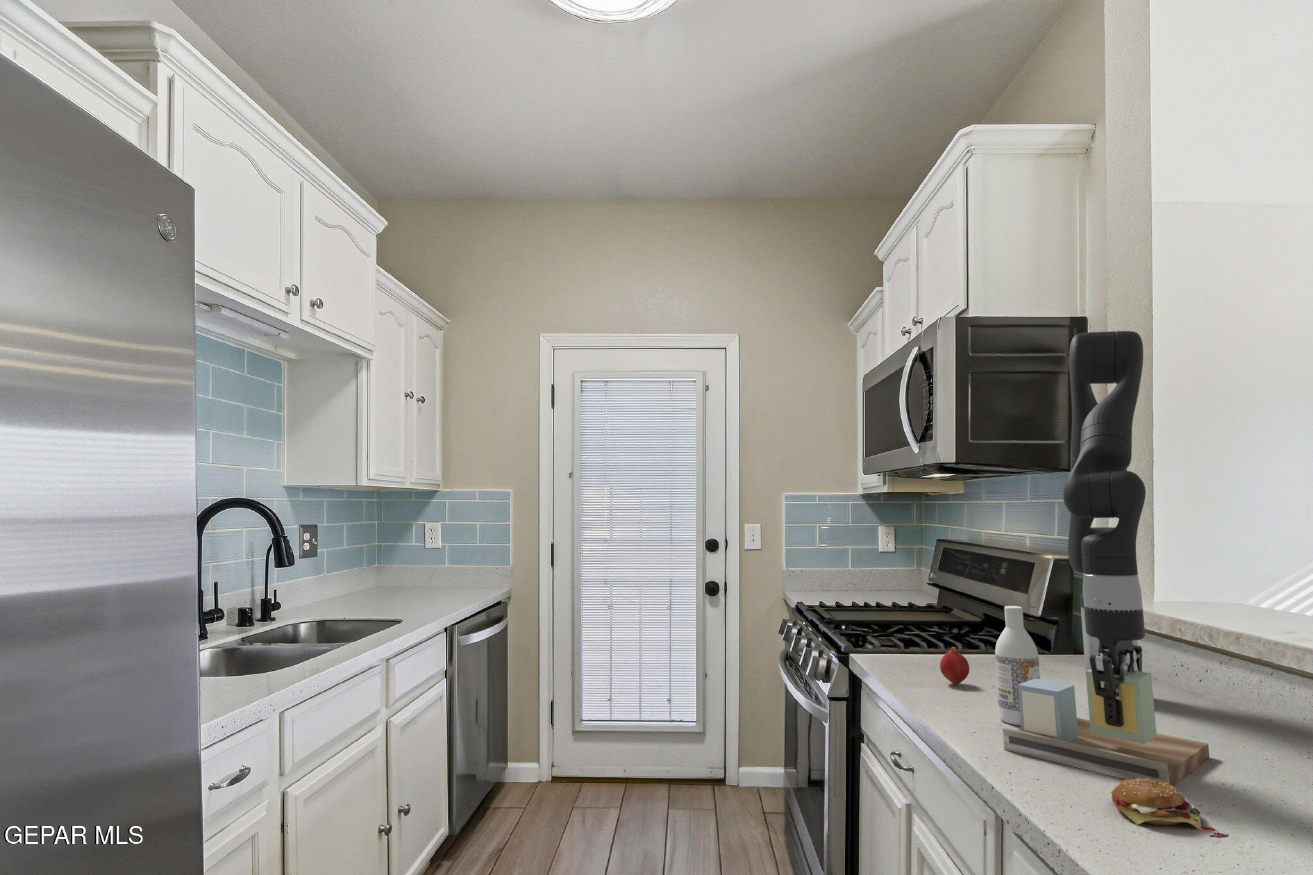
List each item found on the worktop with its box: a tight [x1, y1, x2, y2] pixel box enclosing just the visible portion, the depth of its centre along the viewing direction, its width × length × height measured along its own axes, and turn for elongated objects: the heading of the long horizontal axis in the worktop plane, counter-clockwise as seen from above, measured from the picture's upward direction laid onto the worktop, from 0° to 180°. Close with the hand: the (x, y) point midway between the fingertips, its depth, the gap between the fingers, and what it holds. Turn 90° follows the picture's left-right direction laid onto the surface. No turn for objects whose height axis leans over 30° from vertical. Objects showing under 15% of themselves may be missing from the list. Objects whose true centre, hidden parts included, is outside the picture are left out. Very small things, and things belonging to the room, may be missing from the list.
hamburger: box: [1110, 778, 1229, 838], centre depth 89 cm, size 14×14×6 cm
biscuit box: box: [1018, 678, 1078, 742], centre depth 114 cm, size 6×6×8 cm
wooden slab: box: [1002, 717, 1210, 786], centre depth 112 cm, size 19×22×3 cm
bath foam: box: [994, 605, 1041, 727], centre depth 130 cm, size 7×7×20 cm
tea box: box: [1085, 669, 1157, 744], centre depth 107 cm, size 5×7×9 cm
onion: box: [939, 646, 970, 686], centre depth 155 cm, size 6×6×8 cm
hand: (1122, 721), depth 107 cm, fingers closed on tea box, 5 cm apart
